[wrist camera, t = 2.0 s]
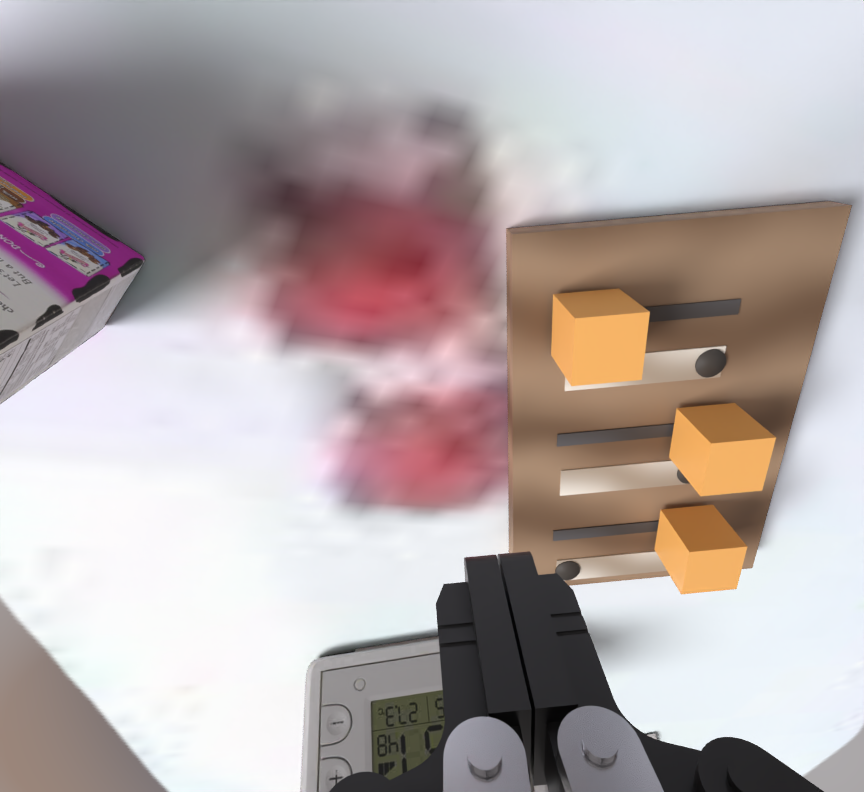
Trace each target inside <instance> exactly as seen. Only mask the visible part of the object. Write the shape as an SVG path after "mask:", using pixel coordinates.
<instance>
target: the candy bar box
mask: <svg viewBox="0 0 864 792" xmlns="http://www.w3.org/2000/svg"><path fill="white" fill-rule="evenodd" d="M144 261H145V259H144V257H143V256H142V255H140V254H139V253H137V252H136V251H134V250H133V249H131V248H130V247H128V246H127V245H125V244H124V243H122V242H121V241H119V240H118V239H116V238H114V237H113V236H111V235H110V234H108V233H107V232H105V231H104V230H102V229H101V228H99V227H98V226H96V225H95V224H93V223H91V222H90V221H88V220H87V219H85V218H84V217H82V216H81V215H79V214H78V213H76V212H75V211H73V210H72V209H70V208H68V207H67V206H65V205H64V204H62V203H61V202H59V201H58V200H56V199H55V198H53V197H52V196H50V195H49V194H47V193H46V192H44V191H43V190H41V189H39V188H38V187H36V186H35V185H33V184H32V183H30V182H29V181H27V180H26V179H24V178H23V177H21V176H20V175H18V174H17V173H15V172H14V171H12V170H11V169H10V168H8V167H7V166H5V165H4V164H2V163H0V404H1V403H2V402H4V401H5V400H7V399H8V398H9V397H11V396H12V395H14V394H15V393H16V392H18V391H19V390H21V389H22V388H23V387H25V386H26V385H27V384H28V383H29V382H31V381H32V380H33V379H35V378H36V377H38V376H39V375H40V374H42V373H43V372H45V371H46V370H47V369H49V368H50V367H51V366H53V365H54V364H56V363H57V362H58V361H59V360H61V359H62V358H64V357H65V356H66V355H68V354H69V353H71V352H72V351H73V350H75V349H76V348H77V347H79V346H80V345H81V344H83V343H84V342H85V341H87V340H88V339H89V338H91V337H92V336H94V335H95V334H96V333H98V332H99V331H100V330H101V329H103V328H104V327H105V325H106V323H107V321H108V320H109V318H110V317H111V315H112V314H113V312H114V310H115V308H116V306H117V304H118V302H119V301H120V299H121V298H122V296H123V294H124V293H125V291H126V290H127V288H128V287H129V285H130V284H131V282H132V280H133V279H134V277H135V276H136V274H137V273H138V271H139V270H140V268H141V267H142V265H143V263H144Z"/></svg>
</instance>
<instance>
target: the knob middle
mask: <svg viewBox="0 0 864 792" xmlns="http://www.w3.org/2000/svg"><path fill="white" fill-rule="evenodd" d="M775 440H776V437H775V436H774V435H773V434H771V433H770V432H769V431H768V430H767V429H765V428H764V427H763V426H762V425H761V424H759V423H758V422H757V421H756V420H755V419H753V418H752V417H751V416H750V415H749V414H747V413H746V412H745V411H744V410H743V409H741V408H740V407H739V406H738V405H737V404H735V403H728V404H717V405H706V406H695V407H684V408H677V409H676V415H675V422H674V428H673V435H672V441H671V447H670V454H669V458H670V459H671V460H672V462H673V463H674V464H675V465H676V467H677V468H678V469H679V470H680V472H681V473H682V474H683V475H684V476H685V478H686V479H687V480H688V481H689V483H690V484H691V485H692V486H693V488H694V489H695V490H696V491H697V493H698V494H699V495H700V496H710V495H721V494H731V493H742V492H753V491H762V490H763V486H764V482H765V478H766V474H767V471H768V467H769V463H770V459H771V455H772V451H773V448H774V444H775Z"/></svg>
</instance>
